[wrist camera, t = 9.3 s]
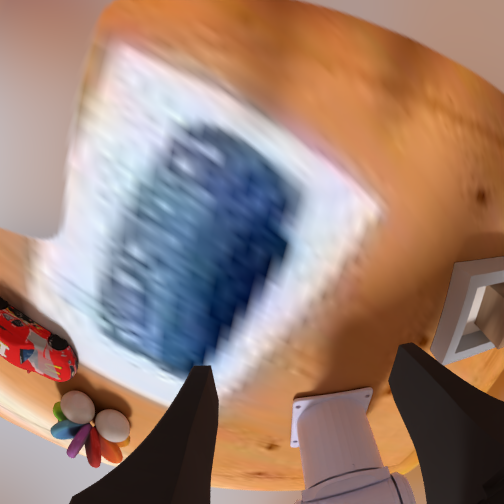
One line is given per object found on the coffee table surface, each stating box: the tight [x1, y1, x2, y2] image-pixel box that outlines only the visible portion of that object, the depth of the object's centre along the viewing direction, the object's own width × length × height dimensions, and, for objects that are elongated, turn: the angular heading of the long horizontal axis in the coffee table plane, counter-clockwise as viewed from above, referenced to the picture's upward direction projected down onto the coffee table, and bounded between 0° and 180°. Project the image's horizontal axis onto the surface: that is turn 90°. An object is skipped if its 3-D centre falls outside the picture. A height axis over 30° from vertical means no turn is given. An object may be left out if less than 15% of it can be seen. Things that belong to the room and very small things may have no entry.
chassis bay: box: [430, 256, 504, 365], centre depth 21 cm, size 9×14×2 cm, turn 94°
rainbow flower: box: [51, 391, 130, 468], centre depth 24 cm, size 8×10×7 cm
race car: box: [0, 297, 78, 382], centre depth 21 cm, size 13×5×4 cm, turn 61°
